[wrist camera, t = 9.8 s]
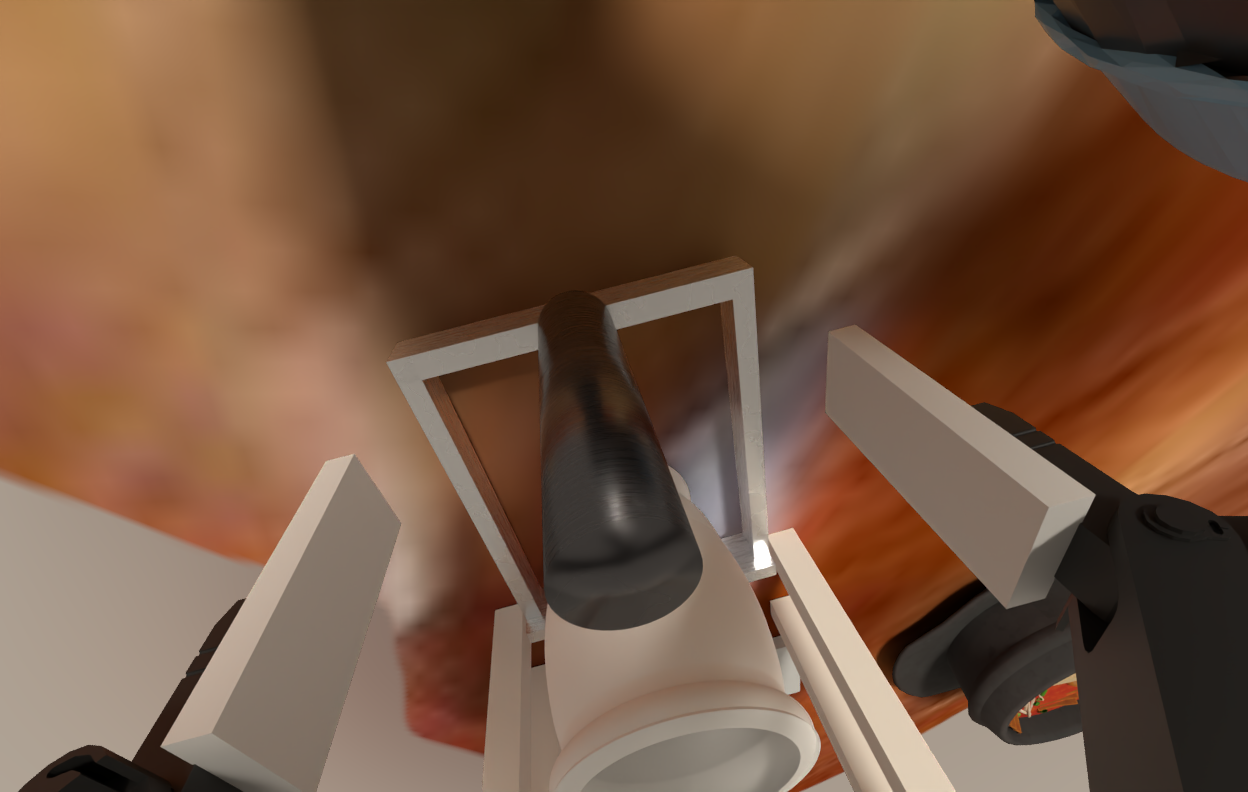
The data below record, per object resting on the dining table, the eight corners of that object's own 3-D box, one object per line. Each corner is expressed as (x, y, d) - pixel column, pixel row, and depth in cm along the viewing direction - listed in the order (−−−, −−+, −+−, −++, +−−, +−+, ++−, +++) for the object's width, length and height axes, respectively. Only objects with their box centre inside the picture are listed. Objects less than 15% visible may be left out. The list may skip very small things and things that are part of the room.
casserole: (899, 698, 52) (956, 790, 45) (860, 620, 43) (925, 722, 36) (1127, 598, 49) (1227, 681, 42) (1141, 489, 39) (1275, 574, 32)
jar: (735, 490, 31) (872, 749, 19) (629, 580, 34) (685, 856, 22) (619, 408, 27) (698, 681, 14) (506, 520, 30) (487, 831, 17)
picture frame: (387, 322, 21) (167, 647, 8) (734, 233, 22) (1023, 413, 9) (531, 601, 32) (530, 920, 20) (757, 538, 33) (899, 810, 20)
